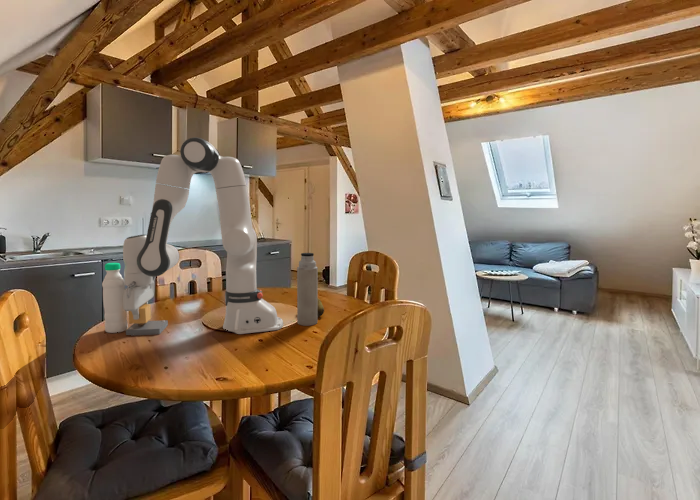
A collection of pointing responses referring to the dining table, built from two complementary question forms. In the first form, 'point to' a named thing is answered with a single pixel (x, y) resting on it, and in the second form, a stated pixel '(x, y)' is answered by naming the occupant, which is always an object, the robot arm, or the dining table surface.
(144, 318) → the wooden cube
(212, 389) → the dining table surface
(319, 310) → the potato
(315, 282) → the thermos bottle
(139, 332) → the plate
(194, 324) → the dining table surface
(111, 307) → the white milk bottle
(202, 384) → the dining table surface
